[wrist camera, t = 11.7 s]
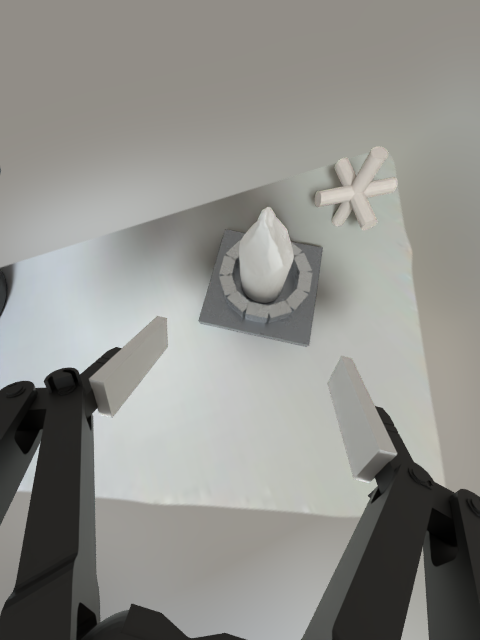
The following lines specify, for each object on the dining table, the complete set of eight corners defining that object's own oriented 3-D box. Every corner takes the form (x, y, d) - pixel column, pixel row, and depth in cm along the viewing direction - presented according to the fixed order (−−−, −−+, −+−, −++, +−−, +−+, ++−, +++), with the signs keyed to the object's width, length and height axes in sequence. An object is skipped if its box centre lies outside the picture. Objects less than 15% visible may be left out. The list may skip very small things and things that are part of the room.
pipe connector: (296, 201, 33) (319, 127, 23) (356, 189, 33) (403, 113, 24) (316, 256, 30) (351, 198, 21) (381, 242, 31) (445, 180, 21)
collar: (200, 323, 28) (194, 315, 24) (225, 234, 31) (223, 216, 28) (306, 346, 27) (316, 341, 23) (319, 252, 30) (330, 235, 27)
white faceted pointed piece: (321, 240, 16) (247, 255, 15) (287, 299, 27) (245, 308, 27) (297, 178, 17) (230, 191, 17) (275, 259, 29) (235, 267, 28)
